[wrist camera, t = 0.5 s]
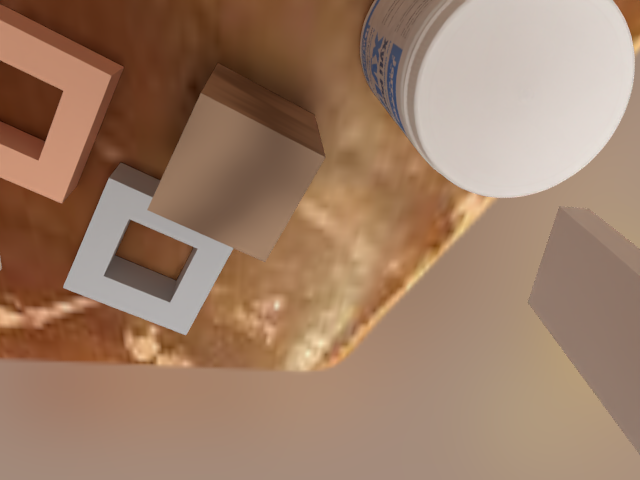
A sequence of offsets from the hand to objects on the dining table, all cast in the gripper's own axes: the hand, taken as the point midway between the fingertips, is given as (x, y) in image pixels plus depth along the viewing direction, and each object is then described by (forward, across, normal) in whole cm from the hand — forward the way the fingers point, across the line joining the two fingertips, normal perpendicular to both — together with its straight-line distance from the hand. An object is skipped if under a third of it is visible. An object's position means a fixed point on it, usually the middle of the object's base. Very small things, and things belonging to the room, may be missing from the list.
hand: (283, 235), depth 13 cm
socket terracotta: (+25, -16, -4) cm, 30 cm away
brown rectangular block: (+25, -2, -5) cm, 26 cm away
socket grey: (+25, -8, -13) cm, 29 cm away
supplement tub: (+25, +10, +2) cm, 27 cm away
